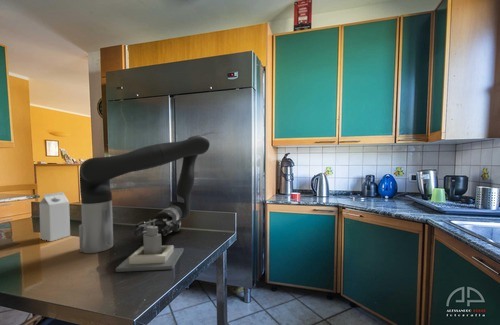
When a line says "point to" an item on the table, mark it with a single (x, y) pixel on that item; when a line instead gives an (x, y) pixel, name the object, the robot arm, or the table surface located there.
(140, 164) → the robot arm
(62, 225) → the milk carton
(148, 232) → the power adapter
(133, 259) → the docking plate
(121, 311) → the table surface
